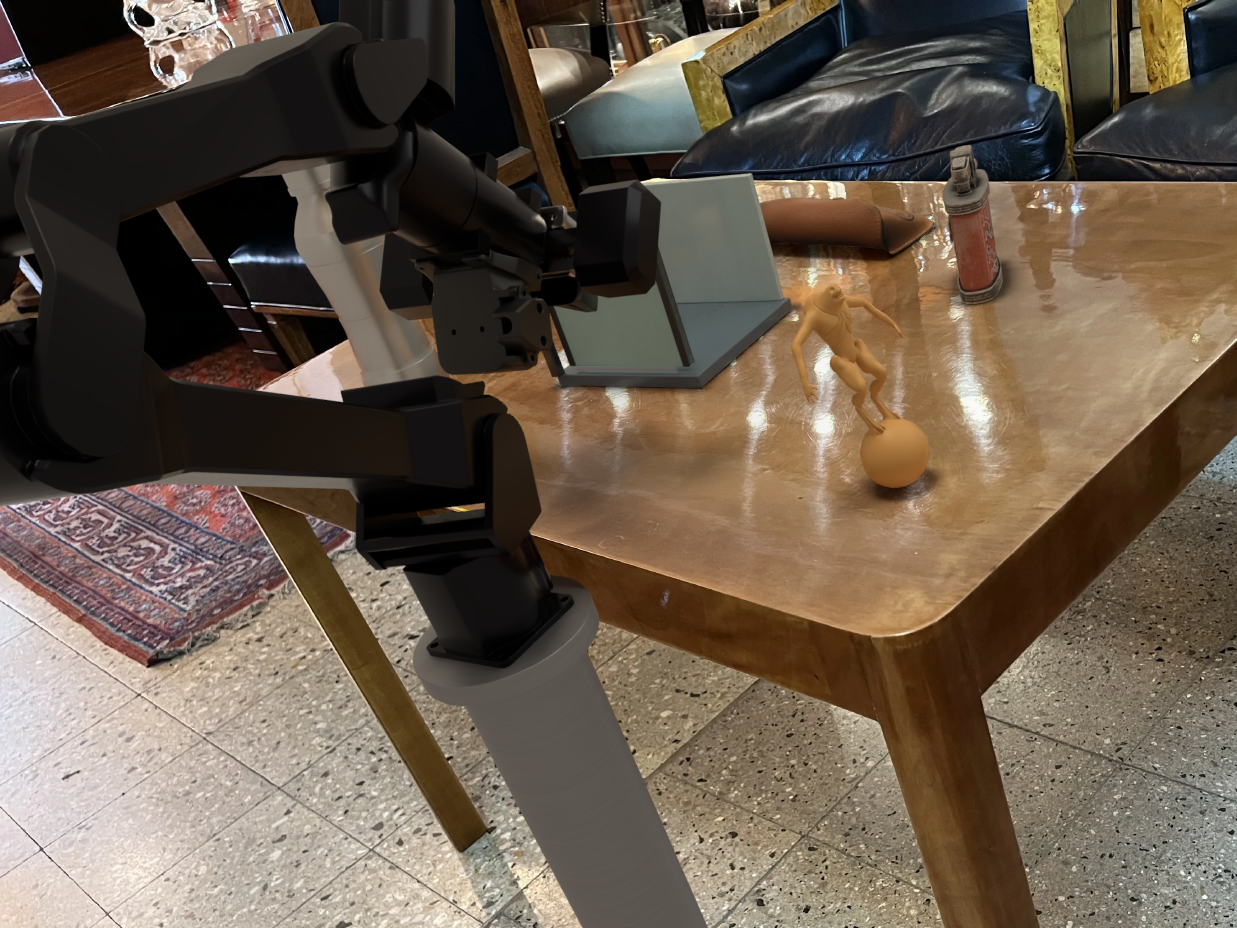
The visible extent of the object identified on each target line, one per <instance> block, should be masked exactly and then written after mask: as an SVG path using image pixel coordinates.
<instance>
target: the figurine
mask: <svg viewBox="0 0 1237 928" xmlns="http://www.w3.org/2000/svg"><path fill="white" fill-rule="evenodd" d="M857 308H864V309H865V310H866V312H868V313H869V314H870V315H872V316H873V317H874V318H875V319H877V320H878V321H880V322H882V323H883V324H886V325H888V326H890V327H891V328H893V329H894V330H895V331H896V332H897V333H898V334H899V337H901V339H903V340H906V337H905V335H904V334H903V332H902V331H901V329H900V327H899V326H898V324H897V323H896V322H895V321H894V320H892V319H891V317H889V316H888V314H886V313H884V312H883V311H881V310H880V309H878V308H877V307H875V306H874V305H873V304H872V303H871V302H870V301H869V300H867V299H866V298H864V297H860V296H852V295H851V296H847V295H845V294H844V293H843V289H842V287H841V286H840V285H838V284H837V283H831V284H829V285H828V286H827V287H826V288H825V290H821V291H819V292H814V293H812V294H810V295H809V296H808V297H807V298H806V300H805V301H804V304H803V315H804V316H803V318H802V322H801V325H800V327H799V329H798V330H797V333H796V334H795V336H794V338H793V340H792V342H791V345H790V349H791V354H792V357H793V359H794V363H795V365H796V369H797V372H798V375H799V378H800V381H801V384H802V389H803V390H802V391H803V393H804V396H805V398H806V400H807V402H808V404H811V403H813V404H816V401H815V400H814V398H815V399H816V400H817V401H819V400H820V399H819V398H818V396H817V394H816V393H815V391H814V390H816V391H819V388H818V387H816V386H815V385H812V384H810V382H809V373H808V368H807V365H806V363H805V360H804V356H803V351H802V347H803V345H804V344H805V343H806V341H807V340H808V339H809V337H810V335H811V334H812V332H813V331H814V332H815V333H816V334H817V335H818V336H819V338H821V339H822V340H823V342H824V343H825V344H826V345H827V346H828V347H829V348H830V351H831V352H832V353H833V354H834V355H832V356H831V358H829V359H830V360H829V367H830V368H831V370H832V372H833V373H835V374H836V375H837V376H838V378H839V379H840V380H842V382H843V383H844V384H845V385H846V386H847V387H848V388H849V389H851V390H852V391H853V392H855V393H854V394H853V395H852V397H851V400H850V401H851V404H852V406H854V410H855V412H856V413H857V415H858V416H859V417H860V419H861V420H862V421H863V422H864V424H865V425H866V427H867V428H868V430H867V431H866V433H865V434H864V436H863V437H862V440H861V443H860V447H859V448H860V449H859V457H860V462H861V466H862V468H863V471H864V472H865V474H866V475H867V476H868V477H869V478H870V479H871V481H873V482H875V484H877V485H880V486H882V487H885V488H890V489H891V488H892V489H899V488H904V487H908V486H910V485H911V484H913V483H915V482H916V481H918V480H919V478H920V477H921V476H922V475H923V474H924V472H925V470H926V469H927V467H928V463H929V461H930V446H929V440H928V439H927V436H926V435H925V433H924V431H923V430H922V429H921V428H920V427H919V426H918V425H917V424H915V423H914V422H912V421H910V420H908V419H906V418H902V417H901V416H900V415H899V414H898V413H897V412H895V411H892V410H891V409H889V407H887V405H886V404H885V402H883V400H882V399H881V397H880V396H879V393H880V392H881V391H882V389H883V387H884V385H885V384H886V382H887V379H888V369H887V368H886V367H885V366H884V365H883V364H882V363H880V362H879V360H878V359H877V358H876V357H875V356H874V355H873V354H872V353H871V352H870V349H869V348H868V346H867V345H866V343H865V341H864V340H863V339H862V338H857V339H856V340H854V338H853V326H852V325H853V318H852V312H851V310H850V309H857ZM863 373H865V374H869V375H872V376H873V377H874V378H875V379H874V380H872V381H870V384H869V386H868V385H867V382H866V380H865V379H864V377H863ZM868 391H869V393H870V399H871V401H872V403H873V404H874V405H875V407H876V409H877V411H879V413H880V414H881V416H882V419H881V420H880V421H876V420H875V419H874V418H873V417H872V416H871V415H870V414H869V413H868V411H867V410H866V408H864V407H863V404H865V400H866V398H867V394H868ZM813 397H814V398H813Z"/></svg>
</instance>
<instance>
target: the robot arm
mask: <svg viewBox="0 0 1237 928" xmlns="http://www.w3.org/2000/svg"><path fill="white" fill-rule="evenodd" d="M338 1H339V3H338V4H339V5H338V21H335V22H331V23H325V24H322V25H318V26H314V27H311V28H307V29H306V28H305V29H302V30H298V31H294V32H290V33H285V34H282V35H279V36H275V37H271V38H267V39H263V40H259V41H255V42H250V43H247V44H243V45H239V46H235V47H232V48H229V49H227V50H224V51H223V52H221V53H220V54H218V55H216V56H215V57H213V58H211V59H210V60H208V61H206V63H204V64H202V65H201V66H199V67H197V68H196V69H195V70H193V72H192V75H191V78H190V81H188V82H187V83H186V84H184V85H182V86H181V87H180V88H178V89H176V90H174V91H170V92H167V93H163V94H158V95H155V96H151V97H147V98H144V99H139V100H135V101H132V102H127V103H123V104H119V105H116V106H112V107H109V108H104V109H101V110H97V111H92V112H89V113H86V114H81V115H77V116H74V117H69V118H66V119H65V118H64V119H62V120H58V121H48V120H44V119H43V120H42V119H37V120H28V121H23V122H19V123H16V124H11V125H8V126H4V127H0V306H1V305H2V303H3V301H4V299H5V297H6V296H7V295H8V293H9V291H10V289H11V288H12V286H13V284H14V282H15V280H16V279H17V277H18V273H19V271H20V265H21V259H22V257H23V256H27V255H32V254H34V256H35V258H36V261H37V264H38V266H39V268H40V270H41V273H42V282H41V289H40V297H39V302H38V303H39V304H38V311H37V317H26V318H21V319H15V320H9V321H5V322H0V507H1V508H2V507H8V506H14V505H21V504H29V503H36V502H43V501H49V500H55V499H63V498H70V497H77V496H84V495H91V494H97V493H103V492H108V491H112V490H118V489H123V488H128V487H133V486H137V485H144V484H146V485H147V484H149V485H186V486H187V485H188V486H219V487H220V486H226V487H256V488H257V487H259V488H297V489H298V488H299V489H334V490H337V489H338V490H341V489H342V490H346V491H349V492H350V494H351V495H352V498H353V499H354V500H355V501H356V504H355V511H356V512H355V549H356V551H357V553H358V554H359V555H360V556H361V557H362V558H363V559H364V560H365V561H366V562H367V563H368V564H369V565H370V567H372V568H373V569H374V570H375V571H378V572H379V571H385V570H388V569H391V568H397V567H398V568H399V567H403V568H402V572H403V574H404V576H405V578H406V580H407V582H408V584H409V585H410V588H411V589H412V591H413V593H414V594H415V597H416V599H417V600H418V602H419V604H420V607H421V608H422V610H423V612H424V614H425V616H426V618H427V619H428V621H429V623H430V626H431V625H432V627H433V629H434V631H435V633H436V635H437V637H436V638H435V639H434V640H433V641H432V642H431V643H429V644H428V645H427V647H426V649H427V651H428V653H429V655H431V656H435V657H440V658H446V659H451V660H457V661H462V662H468V663H473V664H479V665H484V666H490V667H495V668H507V667H509V666H511V665H512V664H513V663H514V662H515V661H516V660H517V659H518V658H519V657H520V656H521V655H522V654H524V653H525V652H526V651H527V650H528V649H529V648H530V647H531V646H532V645H533V644H534V643H535V642H536V641H537V640H538V639H539V638H540V637H541V636H542V635H543V634H544V633H545V632H546V631H547V630H548V629H549V628H550V627H552V626H553V625H554V624H555V623H556V622H557V621H558V620H559V619H560V618H561V617H562V616H563V615H564V614H565V613H566V612H567V611H568V610H569V609H570V608H571V607H572V606H573V605H574V603H575V602H574V600H573V597H572V596H571V595H568V594H561V593H553V592H551V590H552V589H553V588H554V587H553V583H552V580H551V578H550V576H549V575H550V574H549V572H548V569H547V567H546V565H545V563H544V559H543V558H542V555H541V553H540V551H539V549H538V547H537V544H536V542H535V540H534V537H533V535H532V533H531V529H532V527H533V526H534V525H535V523H536V521H537V520H538V518H539V517H540V516H541V514H542V512H543V511H542V509H543V508H542V505H541V500H540V495H539V491H538V487H537V482H536V478H535V473H534V468H533V464H532V459H531V456H530V451H529V447H528V443H527V442H528V441H527V438H526V434H525V432H524V430H523V427H522V426H521V424H520V423H519V421H518V419H517V418H516V417H515V416H514V415H513V414H511V413H508V411H509V409H508V406H507V405H506V404H505V403H504V402H503V401H501V399H499V398H498V397H495V396H494V395H491V394H485V390H486V383H485V381H484V380H480V381H473V382H466V383H462V382H461V381H459V380H456V379H454V378H452V377H450V376H449V377H450V378H449V377H444V376H439V375H434V376H428V377H422V378H416V379H409V380H403V381H397V382H391V383H385V384H378V385H372V386H366V387H364V386H362V387H361V386H360V387H355V388H354V387H353V388H348V389H341V390H340V396H341V399H342V401H340V400H339V401H338V400H331V399H325V398H316V397H309V396H303V395H294V394H288V393H279V392H273V391H265V390H259V389H250V388H244V387H243V388H242V387H235V386H229V385H221V384H213V383H208V382H207V383H206V382H198V381H191V380H183V379H178V378H175V377H172V376H170V375H168V374H167V373H166V372H165V371H164V370H163V369H162V368H161V367H160V365H159V364H157V362H156V361H155V360H154V359H153V358H152V357H151V356H150V355H149V354H148V353H147V352H145V351H144V349H145V341H146V332H147V319H146V314H145V312H144V309H143V307H142V305H141V302H140V299H139V298H138V296H137V293H136V291H135V289H134V286H133V284H132V282H131V279H130V278H129V275H128V274H127V271H126V269H125V267H124V264H123V262H122V260H121V258H120V255H119V253H118V241H119V232H120V225H121V222H124V221H127V220H129V219H132V218H134V217H137V216H140V215H143V214H145V213H147V212H151V211H152V210H156V209H159V208H161V207H164V206H166V205H168V204H171V203H175V202H176V201H179V200H182V199H184V198H187V197H190V196H192V195H196V194H197V193H200V192H203V191H206V190H208V189H211V188H214V187H216V186H219V185H222V184H224V183H227V182H229V181H232V180H235V179H237V178H251V177H253V178H255V177H267V176H268V177H270V176H282V174H286V173H291V172H295V171H300V170H305V169H309V168H314V167H318V166H323V165H328V164H330V189H331V191H328V192H326V193H325V199H326V201H327V203H328V205H329V207H330V209H331V214H332V226H333V229H334V231H335V233H336V236H337V238H338V240H339V242H340V243H341V244H343V245H349V244H353V243H357V242H360V241H364V240H368V239H371V238H375V237H378V236H382V235H385V239H384V249H383V259H382V269H381V278H380V288H379V292H380V294H381V296H382V298H383V300H384V303H385V305H386V306H387V308H388V310H390V311H392V312H394V313H395V314H397V315H399V316H401V317H403V318H405V319H407V320H418V321H419V320H426V319H432V323H433V332H434V337H435V345H436V351H437V353H438V359H439V363H440V365H441V367H442V369H443V370H444V371H445V372H446V373H448V374H449V375H452V376H462V375H463V376H465V375H489V374H498V373H499V374H501V373H511V372H512V373H513V372H523V371H528V370H531V369H532V368H533V367H537V365H538V363H539V354H540V352H542V351H548V350H550V348H551V346H552V343H553V342H554V339H553V329H552V321H551V315H550V312H549V307H552V306H556V307H561V308H566V309H571V310H576V311H581V312H596V311H597V307H598V296H601V297H606V298H614V297H623V296H632V295H641V294H647V293H648V291H649V290H650V289H651V288H652V287H653V286H654V285H655V281H656V267H657V254H658V240H659V227H660V213H661V201H660V200H659V199H658V198H657V197H656V196H655V195H654V194H653V193H652V192H651V191H650V190H649V189H648V188H646V187H645V186H644V185H643V184H642V183H643V182H641V181H640V180H639V179H632V180H625V181H619V182H611V183H606V184H599V185H592V186H588V187H587V188H586V189H584V190H583V191H582V192H580V193H579V194H578V200H577V210H571V211H570V210H569V211H568V209H567V207H566V206H565V205H563V204H559V205H552V206H551V205H550V206H545V207H542V198H543V194H542V193H540V192H539V191H538V190H537V189H535V188H534V187H532V186H529V187H521V188H516V189H515V188H514V189H511V188H509V187H508V186H507V185H505V184H504V183H502V181H500V180H499V179H498V172H499V171H498V169H499V160H498V159H497V158H495V157H494V156H493V155H492V154H490V153H489V152H488V151H485V152H479V153H474V154H468V155H465V153H463V152H461V151H460V150H459V149H458V148H456V147H455V146H454V145H452V144H451V143H449V142H448V141H447V140H445V139H444V138H443V137H441V136H440V135H439V134H437V132H435V131H433V130H432V129H431V128H430V126H431V125H433V123H434V122H435V121H437V120H439V119H441V118H444V117H445V116H446V115H448V114H451V113H454V112H455V110H456V107H455V106H456V58H455V57H456V5H455V1H454V0H338ZM480 504H484V508H477V509H470V510H462V511H454V512H446V513H437V514H429V515H423V516H419V513H418V512H424V511H433V510H441V509H449V508H457V507H465V506H472V505H480Z"/></svg>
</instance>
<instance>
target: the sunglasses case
mask: <svg viewBox="0 0 1237 928" xmlns="http://www.w3.org/2000/svg"><path fill="white" fill-rule="evenodd" d="M759 203H760V207H761V211H762V214H763V218H764V222H765V226H766V230H767V234H768V238H769V241H770V245H774V246H777V245H783V244H790V245H800V246H801V245H802V246H819V245H820V246H821V245H822V246H823V245H824V246H829V247H849V248H852V247H853V248H870V249H876V250H880V249H884V250H885V251H886V252H887V253H889V254H891V255H897V254H898V253H900V252H901V251H904V250H906V249H907V248H909V247H910V246H912V245H914V244H915V243H917V242H918V241H919V240H921V238H923V237H924V236H925V235H926V234H927V233H928V232H930V231H931V230H932V229H933V228H934V226H935V224H936V223H935V221H934V220H931V219H929V218H927V217H925V216H923V215H920V214H918V213H915V212H910V211H908V210H902V209H897V208H890V207H883V206H875V205H874V204H872V203H871V202H869V201H867V200H865V199H864V198H862V197H859V196H853V197H848V198H844V197H842V196H838V197H832V198H823V197H822V198H821V197H820V198H818V197H803V196H802V197H801V196H800V197H785V198H777V199H776V198H775V199H772V200H766V201H765V200H764V201H762V202H759Z"/></svg>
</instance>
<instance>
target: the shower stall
mask: <svg viewBox="0 0 1237 928" xmlns="http://www.w3.org/2000/svg"><path fill="white" fill-rule="evenodd" d="M641 183H642V184H643V185H644V186H645V187H646V188H648V189H649V190H650V191H651V192H652V193H653V194H654V195H655V196H656V197H657V198H658V199H659V200H660V201H661V213H660V227H659V240H658V247H659V250H660V253H661V257H662V260H663V263H664V266H665V269H666V272H667V276H668V279H669V282H670V285H671V288H672V291H673V295H674V298H675V301H676V304H677V307H678V310H679V314H680V317H681V320H682V323H683V326H684V329H685V333H686V336H687V339H688V342H689V345H690V348H691V352H692V355H693V358H694V361H695V363H694V364H692V365H691V366H690V367H683V366H570V365H569V364H568V365H567V366H566V367H564V366H563V364H562V361H561V358H560V355H559V353H558V351H557V348H556V345H555V342H554V341H553V343H552V346H551V348H550V350H548V351H541V353H542V355H543V358H544V360H545V362H546V365H547V368H548V371H549V374H550V376H551V377H552V378H557V380H558V383H559V385H560V386H563V387H564V386H565V387H566V386H567V387H569V386H571V387H572V386H573V387H622V388H623V387H626V388H629V387H631V388H674V389H675V388H679V389H680V388H682V389H683V388H684V389H689V388H690V389H702V388H703V387H705V386H706V385H707V384H708V383H709V382H711V380H712V379H714V378H715V377H716V376H717V375H718V374H719V373H720V372H722V371H723V370H724V369H725V368H727V366H728V365H730V364H731V363H732V362H733V361H734V360H735V359H737V357H740V355H741V354H742V353H743V352H745V351H746V350H747V349H749V347H750V346H752V345H753V344H754V343H756V341H758V339H760V338H761V337H762V336H763V335H765V333H766V332H768V331H769V330H770V329H771V328H772V327H774V326H775V325H776V324H777V323H778V322H779V321H780V320H782V319H783V318H784V317H785V316H786V315H787V314H789V313H790V312H791V311H792V310H793V303H792V299H791V297H785V295H784V291H783V287H782V284H781V280H780V277H779V273H778V269H777V265H776V260H775V258H774V257H775V256H774V253H773V249H772V246H771V245H772V244H770V241H769V238H768V234H767V230H766V226H765V222H764V218H763V214H762V211H761V207H760V203H761V202H760V199H759V196H758V192H757V187H756V184H755V180H754V176H753V173H741V174H730V175H719V176H717V175H716V176H709V177H708V176H707V177H697V178H686V179H675V180H665V181H654V182H641Z"/></svg>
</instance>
